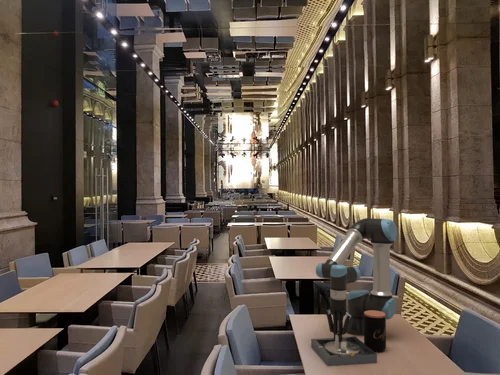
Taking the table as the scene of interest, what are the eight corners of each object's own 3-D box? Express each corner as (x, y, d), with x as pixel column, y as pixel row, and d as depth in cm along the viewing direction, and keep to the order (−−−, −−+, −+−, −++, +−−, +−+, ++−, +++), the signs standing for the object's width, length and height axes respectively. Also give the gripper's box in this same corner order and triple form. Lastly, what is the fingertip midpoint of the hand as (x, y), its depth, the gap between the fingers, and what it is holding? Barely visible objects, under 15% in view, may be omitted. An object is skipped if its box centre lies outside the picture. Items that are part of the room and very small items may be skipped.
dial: (324, 342, 209) (324, 329, 210) (358, 344, 207) (358, 331, 207) (325, 355, 193) (325, 341, 193) (362, 357, 190) (362, 343, 190)
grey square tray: (355, 343, 214) (355, 335, 214) (377, 362, 190) (376, 352, 190) (311, 346, 210) (311, 337, 210) (327, 366, 186) (327, 356, 186)
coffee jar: (374, 354, 200) (374, 317, 200) (359, 347, 209) (359, 311, 209) (390, 350, 205) (390, 314, 205) (375, 343, 214) (374, 309, 214)
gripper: (322, 297, 195) (321, 347, 195) (347, 302, 187) (347, 353, 187) (329, 294, 201) (329, 342, 201) (354, 298, 193) (354, 349, 193)
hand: (337, 348), depth 194 cm, fingers closed
